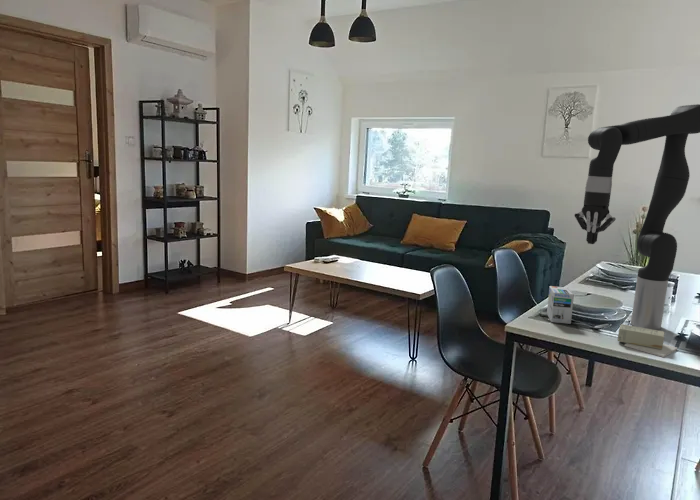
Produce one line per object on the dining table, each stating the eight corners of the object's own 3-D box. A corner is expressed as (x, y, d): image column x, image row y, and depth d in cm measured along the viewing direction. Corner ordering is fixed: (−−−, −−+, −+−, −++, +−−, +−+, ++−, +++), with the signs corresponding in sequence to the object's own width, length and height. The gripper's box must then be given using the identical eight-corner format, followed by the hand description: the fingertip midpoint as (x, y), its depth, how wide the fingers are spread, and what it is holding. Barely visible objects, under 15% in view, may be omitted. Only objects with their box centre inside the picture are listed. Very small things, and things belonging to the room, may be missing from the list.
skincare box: (616, 341, 163) (662, 350, 156) (618, 328, 162) (664, 336, 155) (619, 336, 168) (663, 345, 161) (621, 323, 167) (665, 331, 161)
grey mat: (639, 339, 168) (639, 337, 167) (677, 349, 159) (677, 347, 159) (624, 346, 161) (624, 344, 160) (663, 357, 152) (663, 355, 152)
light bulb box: (571, 324, 180) (574, 294, 178) (550, 322, 181) (554, 292, 180) (565, 315, 190) (568, 287, 189) (545, 313, 192) (548, 285, 190)
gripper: (624, 192, 166) (616, 246, 169) (583, 189, 175) (576, 239, 178) (614, 192, 161) (606, 247, 164) (572, 189, 171) (566, 241, 174)
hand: (591, 243), depth 171 cm, fingers closed
